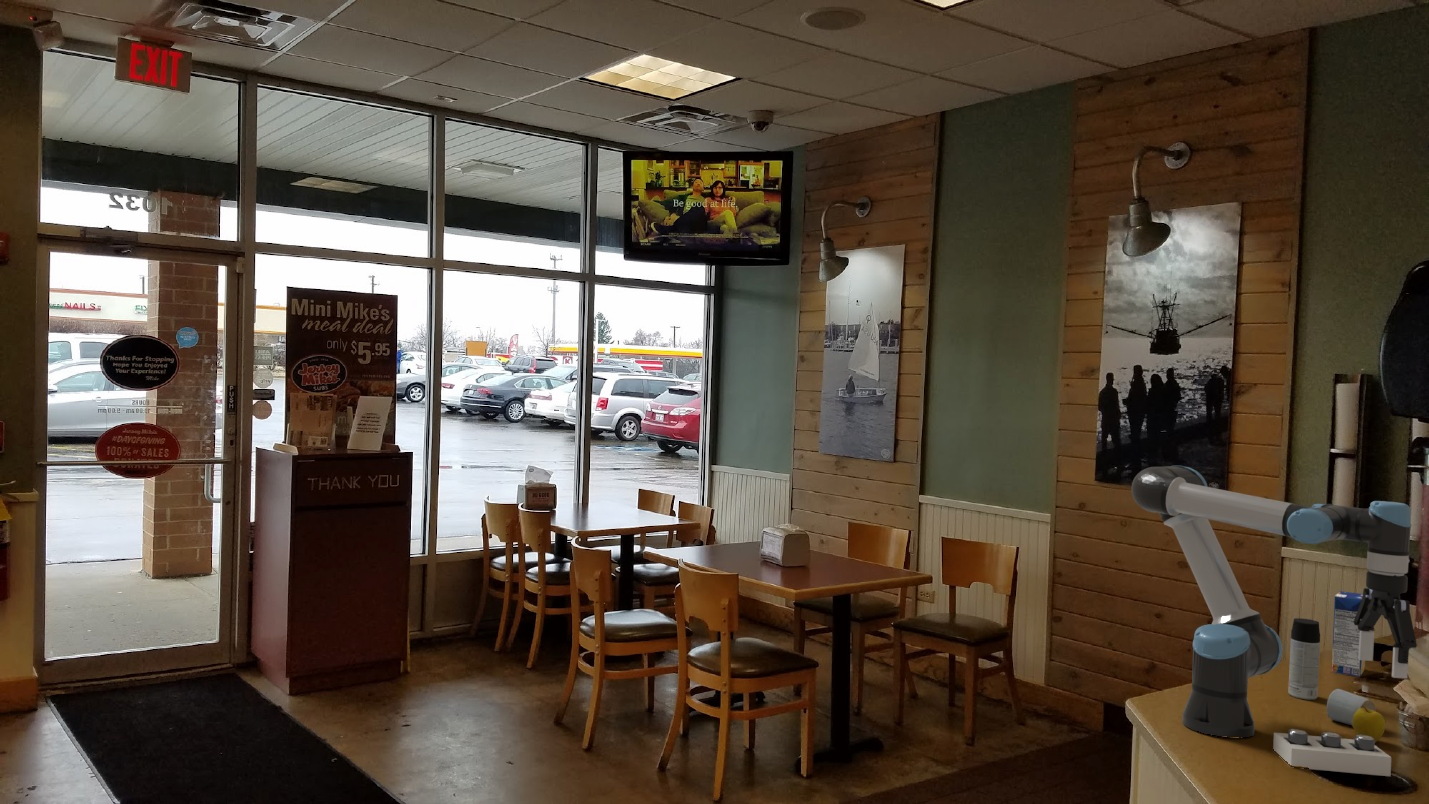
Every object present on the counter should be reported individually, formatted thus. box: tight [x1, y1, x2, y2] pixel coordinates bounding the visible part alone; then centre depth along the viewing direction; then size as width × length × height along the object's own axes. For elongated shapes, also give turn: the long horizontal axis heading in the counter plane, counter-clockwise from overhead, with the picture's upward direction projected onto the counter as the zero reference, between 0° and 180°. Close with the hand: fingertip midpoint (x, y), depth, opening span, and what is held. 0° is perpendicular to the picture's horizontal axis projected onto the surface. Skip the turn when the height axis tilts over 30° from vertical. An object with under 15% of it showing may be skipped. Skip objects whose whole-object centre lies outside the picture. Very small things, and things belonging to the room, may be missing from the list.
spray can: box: [1287, 617, 1321, 701], centre depth 261 cm, size 7×7×20 cm
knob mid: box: [1320, 731, 1342, 749], centre depth 212 cm, size 4×4×4 cm
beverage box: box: [1331, 590, 1366, 678], centre depth 288 cm, size 7×11×22 cm, turn 140°
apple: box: [1352, 705, 1386, 743], centre depth 227 cm, size 6×6×8 cm
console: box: [1272, 732, 1392, 777], centre depth 212 cm, size 19×10×4 cm, turn 80°
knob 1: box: [1287, 728, 1309, 746], centre depth 213 cm, size 4×4×4 cm
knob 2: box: [1353, 735, 1376, 752], centre depth 211 cm, size 4×4×4 cm
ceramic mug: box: [1326, 688, 1377, 727], centre depth 240 cm, size 11×8×8 cm
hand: (1381, 668), depth 218 cm, fingers open, 13 cm apart
